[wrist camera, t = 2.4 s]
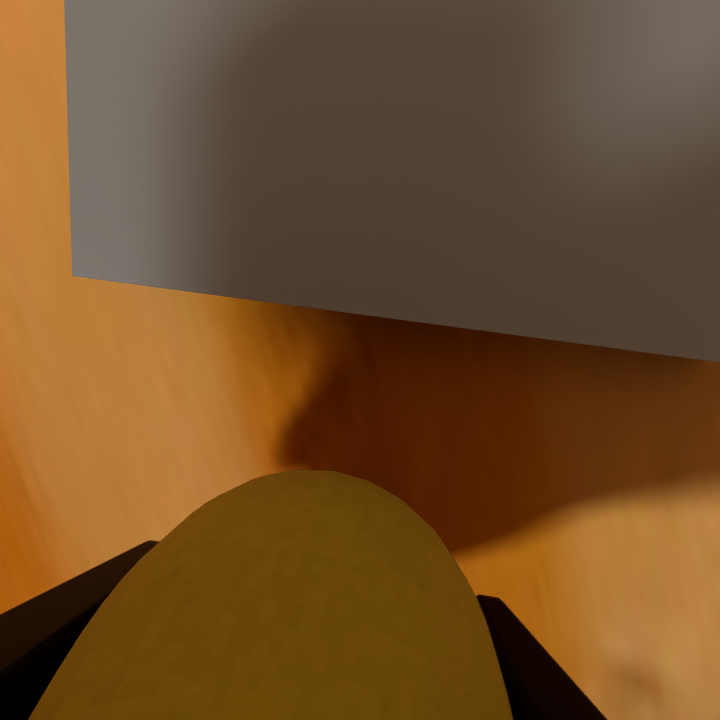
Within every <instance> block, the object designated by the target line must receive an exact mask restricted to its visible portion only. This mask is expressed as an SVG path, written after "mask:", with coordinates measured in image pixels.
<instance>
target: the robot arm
mask: <svg viewBox="0 0 720 720" xmlns="http://www.w3.org/2000/svg"><path fill="white" fill-rule="evenodd" d="M158 543H159V541H153V540H150V541H146V542H144V543H142V544H140V545H138V546H136V547H134V548H132V549H130V550H128V551H126V552H124V553H122V554H120V555H118V556H116V557H114V558H112V559H110V560H108V561H106V562H104V563H102V564H100V565H98V566H96V567H94V568H92V569H90V570H88V571H86V572H84V573H82V574H80V575H78V576H76V577H74V578H72V579H70V580H68V581H66V582H64V583H62V584H60V585H58V586H56V587H54V588H52V589H50V590H48V591H46V592H44V593H42V594H40V595H38V596H36V597H34V598H32V599H30V600H28V601H26V602H24V603H22V604H20V605H18V606H16V607H14V608H12V609H10V610H8V611H6V612H4V613H2V614H0V720H28V719H29V717H30V716H31V714H32V712H33V711H34V709H35V707H36V706H37V704H38V702H39V700H40V699H41V697H42V695H43V694H44V692H45V690H46V689H47V687H48V685H49V684H50V682H51V680H52V679H53V677H54V675H55V674H56V672H57V670H58V669H59V667H60V666H61V664H62V662H63V661H64V659H65V658H66V656H67V655H68V653H69V651H70V650H71V648H72V647H73V645H74V643H75V642H76V640H77V639H78V637H79V636H80V634H81V633H82V631H83V630H84V628H85V627H86V626H87V624H88V623H89V621H90V620H91V618H92V617H93V616H94V614H95V613H96V611H97V610H98V609H99V607H100V606H101V604H102V603H103V602H104V601H105V599H106V598H107V597H108V596H109V594H110V593H111V592H112V591H113V589H114V588H115V587H116V586H117V585H118V583H119V582H120V581H121V580H122V578H123V577H124V576H125V575H126V574H127V573H128V572H129V571H130V570H131V569H132V568H133V567H134V566H135V565H136V563H137V562H138V561H139V560H140V559H141V558H142V557H143V556H144V555H145V554H147V553H148V552H149V551H150V550H151V549H152V548H153V547H154V546H155V545H157V544H158ZM476 598H477V601H478V603H479V605H480V608H481V610H482V613H483V615H484V617H485V620H486V623H487V626H488V630H489V633H490V636H491V639H492V642H493V645H494V649H495V652H496V656H497V659H498V663H499V666H500V670H501V673H502V677H503V680H504V684H505V687H506V691H507V695H508V699H509V703H510V708H511V712H512V716H513V720H607V719H606V717H605V716H604V715H603V714H602V713H601V712H600V711H599V710H598V708H597V707H596V706H595V705H594V704H593V703H592V702H591V701H590V699H589V698H588V697H587V696H586V695H585V694H584V693H583V691H582V690H581V689H580V688H579V687H578V686H577V685H576V684H575V682H574V681H573V680H572V679H571V678H570V677H569V676H568V675H567V673H566V672H565V671H564V670H563V669H562V668H561V667H560V665H559V664H558V663H557V662H556V661H555V660H554V659H553V658H552V656H551V655H550V654H549V653H548V652H547V651H546V650H545V648H544V647H543V646H542V645H541V644H540V643H539V642H538V641H537V639H536V638H535V637H534V636H533V635H532V634H531V633H530V632H529V630H528V629H527V628H526V627H525V626H524V625H523V624H522V622H521V621H520V620H519V619H518V618H517V617H516V616H515V615H514V613H513V612H512V611H511V610H510V609H509V608H508V607H507V606H506V604H505V603H504V602H503V601H502V600H501V599H499V598H497V597H492V596H486V595H477V596H476Z"/></svg>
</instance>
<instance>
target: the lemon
mask: <svg viewBox="0 0 720 720" xmlns="http://www.w3.org/2000/svg"><path fill="white" fill-rule="evenodd" d="M28 720H513V716H512V712H511V708H510V703H509V699H508V695H507V691H506V687H505V684H504V680H503V677H502V673H501V670H500V666H499V663H498V659H497V656H496V652H495V649H494V645H493V642H492V639H491V636H490V633H489V630H488V626H487V623H486V620H485V617H484V615H483V613H482V610H481V608H480V605H479V603H478V601H477V598H476V596H475V594H474V592H473V590H472V588H471V586H470V584H469V583H468V581H467V579H466V577H465V576H464V574H463V572H462V571H461V569H460V568H459V566H458V565H457V563H456V561H455V560H454V558H453V557H452V555H451V554H450V552H449V550H448V549H447V547H446V546H445V544H444V543H443V541H442V540H441V538H440V537H439V535H438V534H437V533H436V531H435V530H434V529H433V528H432V527H431V526H430V525H429V524H428V523H427V522H426V521H424V520H423V519H422V518H421V517H420V516H419V515H418V514H417V513H416V512H415V511H414V510H413V509H411V508H410V507H409V506H408V505H407V504H406V503H405V502H404V501H403V500H402V499H400V498H399V497H397V496H395V495H393V494H392V493H390V492H388V491H386V490H384V489H383V488H381V487H379V486H377V485H376V484H374V483H372V482H370V481H368V480H365V479H361V478H358V477H354V476H351V475H347V474H344V473H340V472H337V471H326V470H303V469H297V470H292V471H286V472H281V473H276V474H271V475H265V476H262V477H258V478H255V479H253V480H250V481H248V482H246V483H244V484H242V485H240V486H238V487H236V488H234V489H232V490H229V491H227V492H225V493H223V494H221V495H219V496H217V497H216V498H214V499H212V500H210V501H208V502H207V503H205V504H204V505H202V506H201V507H200V508H198V509H197V510H196V511H194V512H193V513H192V514H190V515H189V516H188V517H187V518H186V519H185V520H184V521H182V522H181V523H180V524H179V525H178V526H177V527H176V528H175V529H173V530H172V531H171V532H170V533H169V534H168V535H167V536H166V537H164V538H163V539H162V540H161V541H160V542H159V543H158V544H157V545H155V546H154V547H153V548H152V549H151V550H150V551H149V552H148V553H147V554H145V555H144V556H143V557H142V558H141V559H140V560H139V561H138V562H137V563H136V565H135V566H134V567H133V568H132V569H131V570H130V571H129V572H128V573H127V574H126V575H125V576H124V577H123V578H122V580H121V581H120V582H119V583H118V585H117V586H116V587H115V588H114V589H113V591H112V592H111V593H110V594H109V596H108V597H107V598H106V599H105V601H104V602H103V603H102V604H101V606H100V607H99V609H98V610H97V611H96V613H95V614H94V616H93V617H92V618H91V620H90V621H89V623H88V624H87V626H86V627H85V628H84V630H83V631H82V633H81V634H80V636H79V637H78V639H77V640H76V642H75V643H74V645H73V647H72V648H71V650H70V651H69V653H68V655H67V656H66V658H65V659H64V661H63V662H62V664H61V666H60V667H59V669H58V670H57V672H56V674H55V675H54V677H53V679H52V680H51V682H50V684H49V685H48V687H47V689H46V690H45V692H44V694H43V695H42V697H41V699H40V700H39V702H38V704H37V706H36V707H35V709H34V711H33V712H32V714H31V716H30V717H29V719H28Z"/></svg>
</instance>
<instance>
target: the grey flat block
mask: <svg viewBox="0 0 720 720" xmlns="http://www.w3.org/2000/svg"><path fill="white" fill-rule="evenodd" d="M64 3H65V37H66V72H67V106H68V140H69V175H70V209H71V243H72V276H76V277H84V278H91V279H99V280H106V281H114V282H121V283H129V284H136V285H144V286H151V287H159V288H166V289H174V290H181V291H189V292H196V293H204V294H211V295H219V296H226V297H234V298H241V299H249V300H256V301H264V302H271V303H279V304H286V305H294V306H301V307H309V308H316V309H323V310H331V311H338V312H346V313H353V314H361V315H368V316H376V317H383V318H391V319H398V320H406V321H413V322H421V323H428V324H436V325H443V326H451V327H458V328H466V329H473V330H481V331H488V332H496V333H503V334H511V335H518V336H526V337H533V338H541V339H548V340H556V341H563V342H571V343H578V344H586V345H593V346H601V347H608V348H616V349H623V350H631V351H638V352H646V353H653V354H661V355H668V356H676V357H683V358H691V359H698V360H706V361H713V362H720V0H64Z"/></svg>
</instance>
